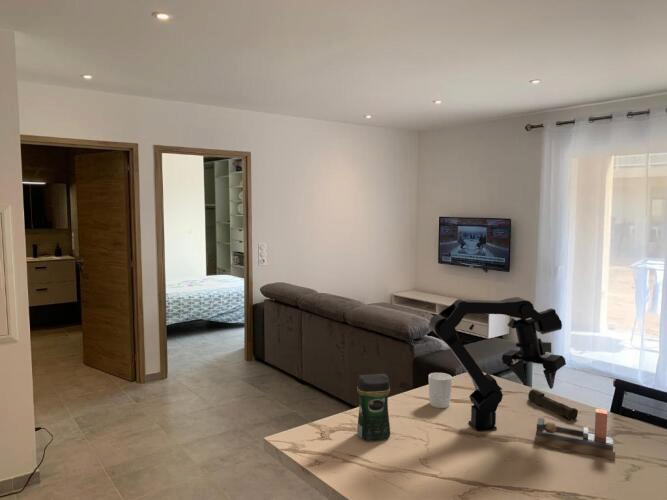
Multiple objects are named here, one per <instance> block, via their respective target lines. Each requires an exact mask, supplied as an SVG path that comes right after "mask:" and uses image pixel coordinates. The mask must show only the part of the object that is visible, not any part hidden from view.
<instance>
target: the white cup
mask: <svg viewBox="0 0 667 500" xmlns="http://www.w3.org/2000/svg"><path fill="white" fill-rule="evenodd" d="M452 378H453V377H452V375H451V374H449V373H445V372H431V373H429V374H428V395H429V405H430V406H431V407H433V408H437V409H446V408H449V407H450V405H451V395H452V394H451V393H452V384H453V383H452V380H453V379H452Z"/></svg>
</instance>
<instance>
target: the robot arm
mask: <svg viewBox="0 0 667 500" xmlns="http://www.w3.org/2000/svg"><path fill="white" fill-rule="evenodd" d="M467 314H469V315H472V314H474V315H479V314H480V315H504V316H508V317H511V319H510V321H509V322H508V323H507V327H509V328H511V329H515V332H516V338H517V343H515V347H516V348H519V350H517V349H509V350H508V351H506V352H505V353H503V354H502V355H501V363H502V364H503V365H506V367H508V368H509V369H510V370H511V371H512V372H513V373H514V374H515V375H516V377H517V379H519V380H520V382H521V383H522V384H523V385H525V384H526V383H527V379H526V378H527V377H526V374H525V370H524V362H525V363H532V364H539V365H542V368H543V370H542V372H543V374H544V377H545V381H546V382H547V385H548V387H549V389H550V390H552V389H553V388H554V383H555V380H556V374H557V371H558V370H560V369H561V368H563V367H564V366H566V365H567V363H566V358H565V357H564V356H563V355H559V354H550V355H549V356H547V357H542V356H546V353H552V342H551V341H542V338H539V337H538V334H537V333H540V334H541V335H545V334H549V333H553V332H557V331H561V330H562V328H563V322H562V320H561V319H560V316H559V315H558V314H557V312H556V309H555V308H549V309H546V310H543V311H539V312H538V311H537V310H536V309H535V307H534V304H533V303H532V302H531V301H529V300H528V299H524V298H521V297H519V296H518V297H517V296H515V297H507V298H505V299H501V300H500V299H499V300H483V299H482V300H477V299H474V300H473V299H472V300H471V299H461V298H458V299H456V300H455V301H454V302H453V303H452V304H450V305H449V306H447V307H446V308H444V309H443V310H441V311H440V312H439V313H438V314H435V315H433V316H432V317H431V318H430V321H429V324H428V325H429V328H430V330H431V331H432V332H433V333H434V334H436V335H437V337H439V339H441V340H442V341H443V342H444V343H445V344H446V345H447V346H448V348H449V349H450V351H451V352H452V353H453V356H455V357H456V359H457V360H458V361H459V363H460V365H461V366H462V368H464V370H465V371H466V374H468V375H469V377H470V379H471V381H472V384H473V386H474V389H475V390H474V391H472V393H471V394H470V395H469V396H468V397H469V400H470V403H472V405H471V406H470V408H471V411H470V412H471V414H470V420H468V424H469V425H470V426H472V428H474V429H475V430H476V431H477V432H485V431H493V430H495V431H496V430H498V428H497V425H496V424H497V423H496V422H497V421H496V418H497V417H496V415H497V410H498V407H499V404H500V403H501V402H502V400H503V396H504V394H503V392H502V390H503V388H502V387H501V386H500V385H499V384H498V382H497V380H496V378H495V377H494V376H492V375H491V374H490V373H488V372H487V373H486V374H484V372H483V371H482V369H481V368H480V367H479V365H478V364H477V363H476V361H475V360H474V358H473V357H472V356H471V355H470V353H469V351H468V350H467V348H466V347H465V345H464V344H463V343H462V341H461V340H460V337H459V334H458V332H457V330H456V327H458V326H459V324H460V323H461V322H462V320H463V319H464V317H465V316H466V315H467ZM512 317H513V318H512ZM515 318H516V319H515Z"/></svg>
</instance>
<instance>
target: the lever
mask: <svg viewBox="0 0 667 500" xmlns="http://www.w3.org/2000/svg"><path fill="white" fill-rule="evenodd" d="M607 425H608V410H606V409H601V408H595V418H594V433H595V434H590V433H588V432H589V427H587V426H583V431H584V432H583V439H586V440H591V441H596V442H601V443H607V444H612V445H613V440H612V439H613V436H612V437H607V436H606V435H607V429H608V426H607Z"/></svg>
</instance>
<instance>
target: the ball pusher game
mask: <svg viewBox="0 0 667 500" xmlns="http://www.w3.org/2000/svg"><path fill="white" fill-rule="evenodd" d="M545 424H546V423H545V418H543V417H538V418H537V423H536V431H535V434H534V435H535V436H534V444H537V445H541V446H546V447H551V448H556V449H562V450H565V451H571V452H576V453H581V454H586V455H590V456H595V457H600V458H605V459H611V460H615V459H616V446H615V438H613V435H609V434H606V436H607V437H612V440H613V445H612V444H607V443H601V442H596V441H591V440H586V439H583V432H584V429H583V430H582V429H577V428H572V427H566V426H561V425H556V432H555V433H549V432H546V430H545ZM588 433H590V434H595V431H594V432H593V431H588Z"/></svg>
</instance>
